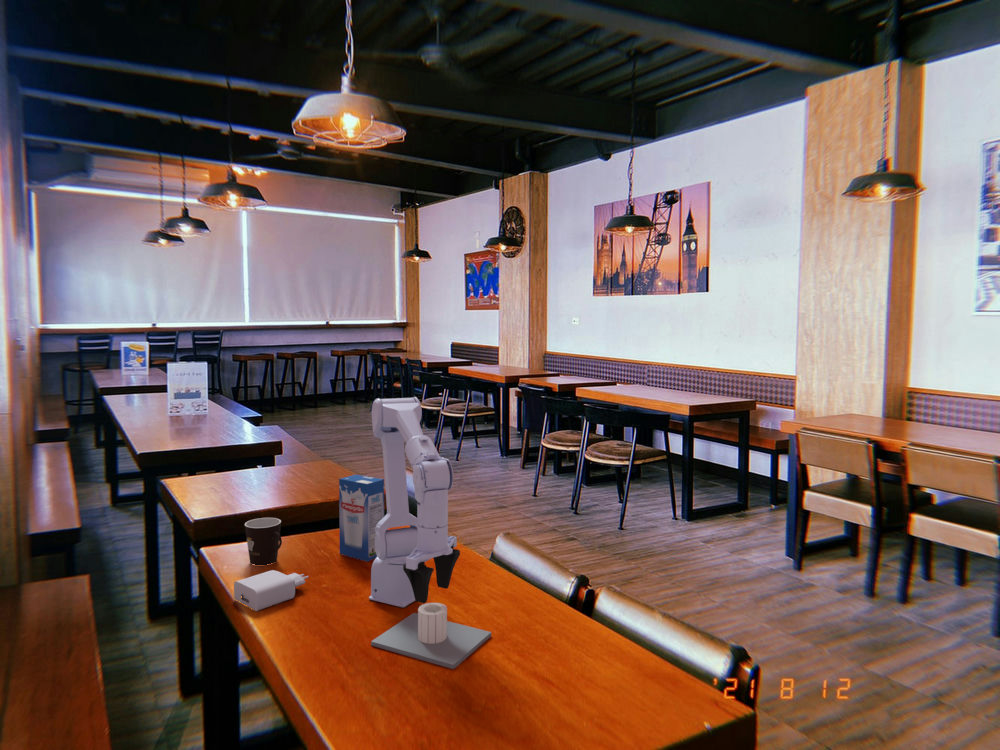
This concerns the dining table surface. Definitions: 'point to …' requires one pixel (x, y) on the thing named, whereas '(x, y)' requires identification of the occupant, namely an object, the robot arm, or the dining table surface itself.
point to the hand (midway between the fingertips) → (432, 594)
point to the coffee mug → (263, 540)
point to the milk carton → (360, 515)
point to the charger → (267, 589)
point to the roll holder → (442, 653)
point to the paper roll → (432, 623)
